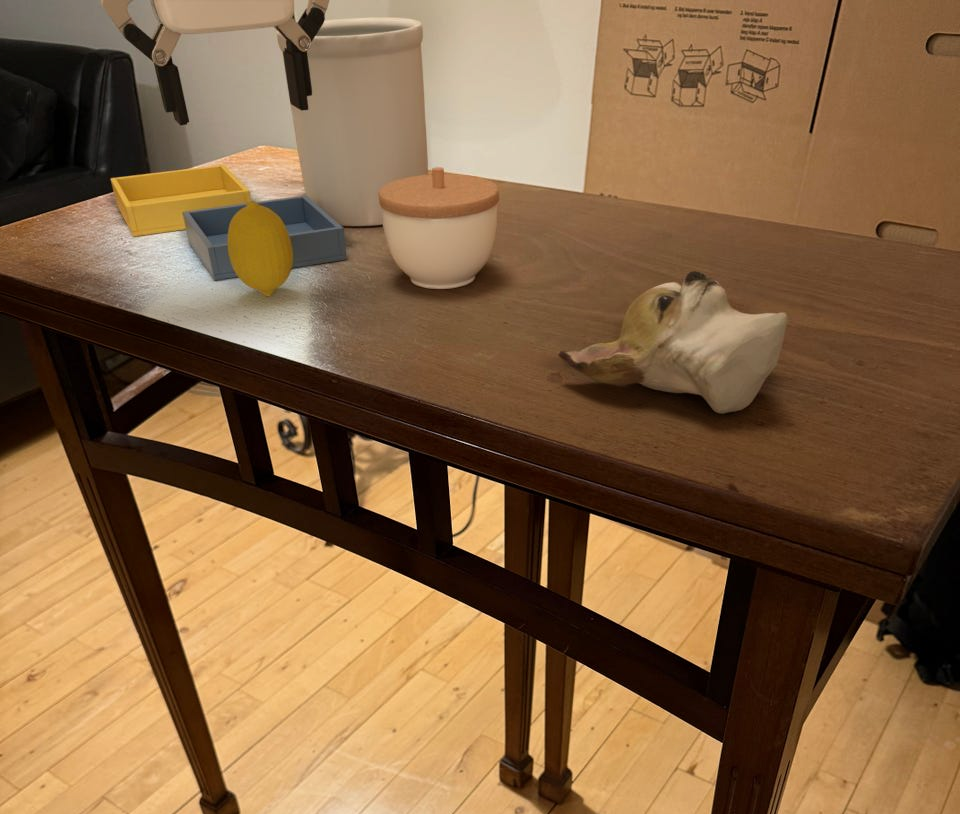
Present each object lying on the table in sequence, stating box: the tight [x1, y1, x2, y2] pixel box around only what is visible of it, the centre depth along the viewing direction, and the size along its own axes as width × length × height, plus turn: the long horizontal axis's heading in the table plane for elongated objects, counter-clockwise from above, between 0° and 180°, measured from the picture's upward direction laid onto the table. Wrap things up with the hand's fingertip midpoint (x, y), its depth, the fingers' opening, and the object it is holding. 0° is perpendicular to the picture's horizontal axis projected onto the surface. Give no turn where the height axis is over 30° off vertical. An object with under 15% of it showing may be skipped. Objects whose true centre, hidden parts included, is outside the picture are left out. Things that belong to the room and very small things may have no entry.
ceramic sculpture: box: [557, 270, 789, 415], centre depth 64 cm, size 11×9×15 cm
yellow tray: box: [110, 164, 252, 237], centre depth 103 cm, size 13×13×3 cm
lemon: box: [228, 200, 293, 297], centre depth 80 cm, size 6×6×8 cm
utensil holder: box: [276, 17, 429, 227], centre depth 98 cm, size 15×15×18 cm
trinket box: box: [378, 166, 500, 290], centre depth 82 cm, size 11×11×9 cm
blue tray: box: [182, 194, 348, 281], centre depth 92 cm, size 13×13×3 cm
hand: (241, 114), depth 73 cm, fingers open, 9 cm apart
